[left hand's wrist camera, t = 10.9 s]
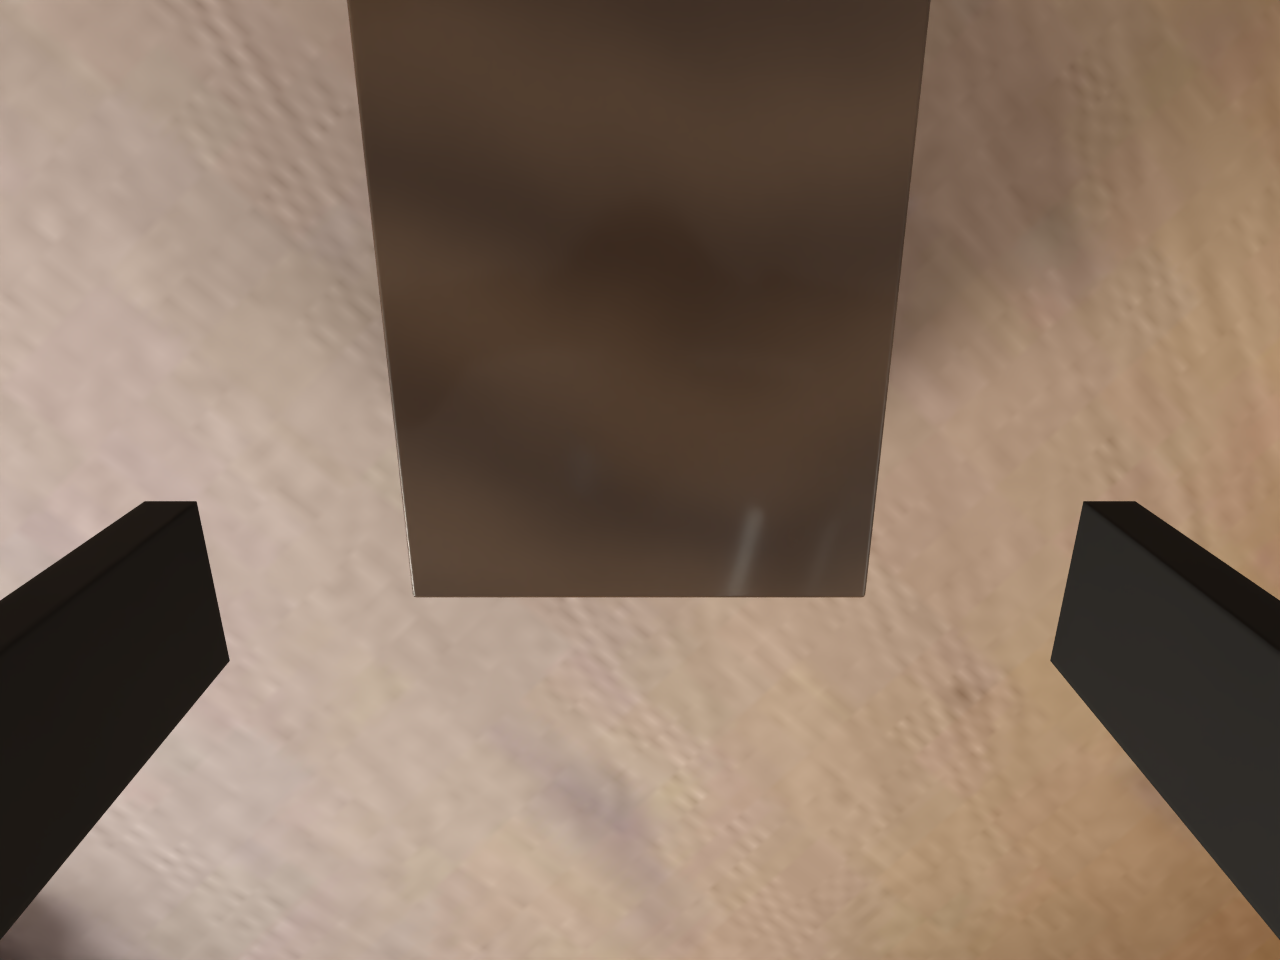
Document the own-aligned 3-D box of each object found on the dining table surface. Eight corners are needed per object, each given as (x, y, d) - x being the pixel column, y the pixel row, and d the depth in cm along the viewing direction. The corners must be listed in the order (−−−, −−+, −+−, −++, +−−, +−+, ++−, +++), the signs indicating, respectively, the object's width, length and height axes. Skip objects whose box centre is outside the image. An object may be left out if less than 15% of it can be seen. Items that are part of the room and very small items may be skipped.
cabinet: (449, -124, 23) (307, -335, 13) (829, -124, 23) (969, -335, 13) (488, 452, 29) (412, 598, 19) (790, 452, 29) (865, 598, 19)
